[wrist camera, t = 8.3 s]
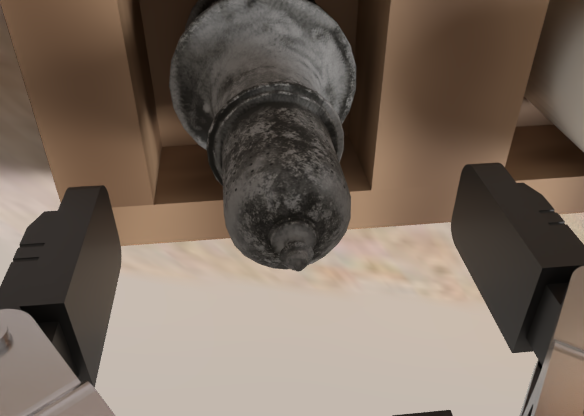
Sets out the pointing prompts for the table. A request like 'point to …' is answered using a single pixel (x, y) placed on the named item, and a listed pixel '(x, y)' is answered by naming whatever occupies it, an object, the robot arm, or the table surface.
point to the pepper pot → (560, 69)
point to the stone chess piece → (270, 121)
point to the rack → (357, 125)
